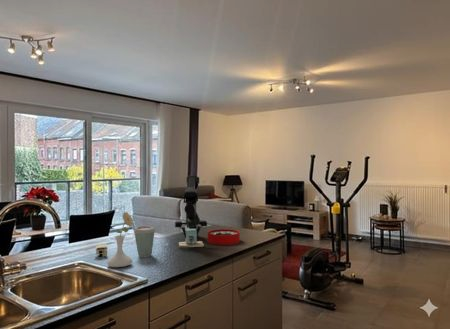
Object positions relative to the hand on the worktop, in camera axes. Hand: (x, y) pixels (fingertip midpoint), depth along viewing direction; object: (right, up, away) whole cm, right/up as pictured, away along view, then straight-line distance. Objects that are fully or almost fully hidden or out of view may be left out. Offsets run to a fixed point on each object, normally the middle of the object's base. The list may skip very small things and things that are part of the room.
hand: (190, 238), depth 201 cm
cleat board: (0, -4, 0) cm, 4 cm away
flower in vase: (-29, -4, -41) cm, 50 cm away
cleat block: (0, -2, 0) cm, 2 cm away
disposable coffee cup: (-22, -4, -25) cm, 33 cm away
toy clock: (+19, -5, +11) cm, 22 cm away
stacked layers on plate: (-44, -5, -24) cm, 50 cm away
